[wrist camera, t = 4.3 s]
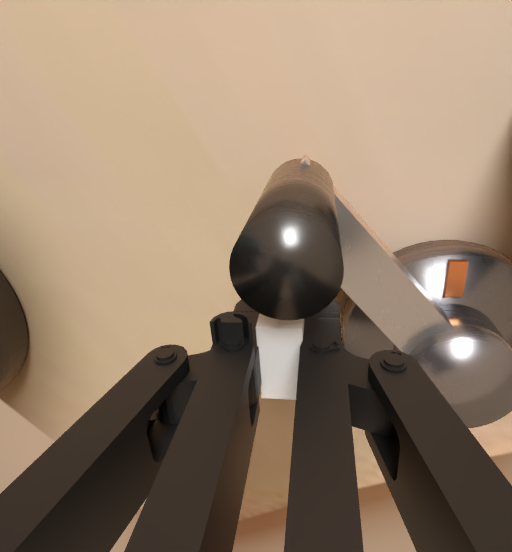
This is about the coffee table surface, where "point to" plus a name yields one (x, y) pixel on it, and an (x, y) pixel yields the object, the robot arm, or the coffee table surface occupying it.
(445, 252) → the crank base
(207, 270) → the coffee table surface
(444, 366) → the crank
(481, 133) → the coffee table surface
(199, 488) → the robot arm
